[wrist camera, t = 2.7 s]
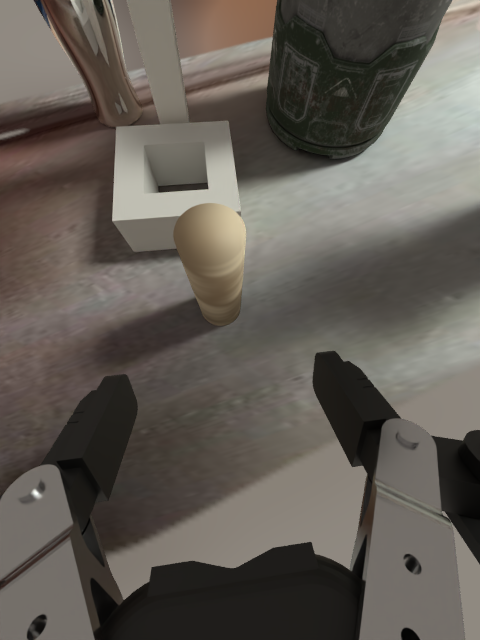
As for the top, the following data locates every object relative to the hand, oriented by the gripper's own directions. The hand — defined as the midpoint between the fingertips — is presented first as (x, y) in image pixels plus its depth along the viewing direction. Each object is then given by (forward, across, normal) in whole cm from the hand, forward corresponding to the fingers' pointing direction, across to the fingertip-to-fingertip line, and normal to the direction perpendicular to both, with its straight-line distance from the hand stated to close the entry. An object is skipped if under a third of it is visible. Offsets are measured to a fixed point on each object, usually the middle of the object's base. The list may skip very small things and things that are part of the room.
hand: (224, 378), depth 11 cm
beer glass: (+35, +11, -17) cm, 41 cm away
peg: (+15, 0, +3) cm, 15 cm away
